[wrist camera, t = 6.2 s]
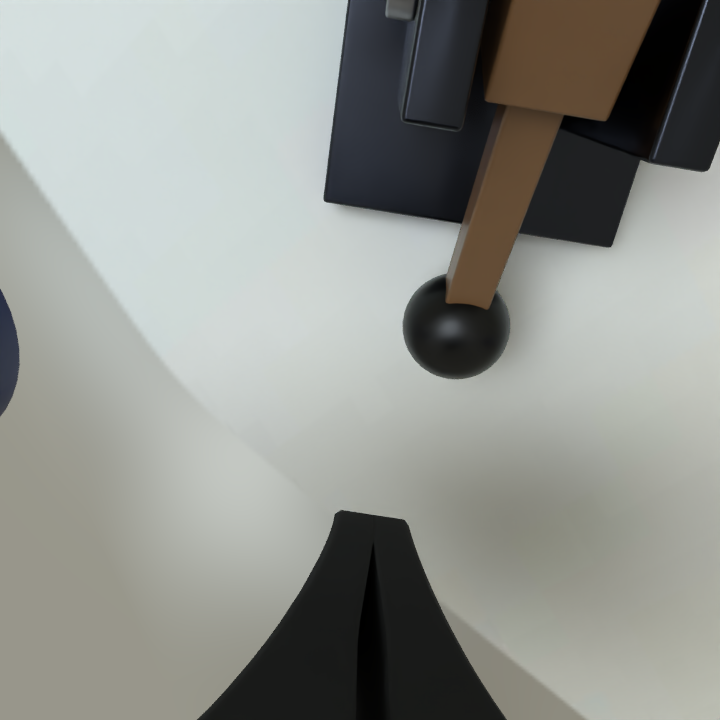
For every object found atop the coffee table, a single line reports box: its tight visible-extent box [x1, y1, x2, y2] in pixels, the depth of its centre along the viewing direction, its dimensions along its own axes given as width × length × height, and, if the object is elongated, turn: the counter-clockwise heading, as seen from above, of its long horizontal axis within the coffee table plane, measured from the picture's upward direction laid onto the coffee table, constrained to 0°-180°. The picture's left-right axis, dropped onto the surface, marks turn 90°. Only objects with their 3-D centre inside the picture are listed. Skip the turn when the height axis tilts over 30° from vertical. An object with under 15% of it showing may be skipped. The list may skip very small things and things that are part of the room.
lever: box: [403, 0, 661, 379], centre depth 14 cm, size 11×3×3 cm, turn 172°
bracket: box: [324, 0, 720, 248], centre depth 13 cm, size 10×8×8 cm
